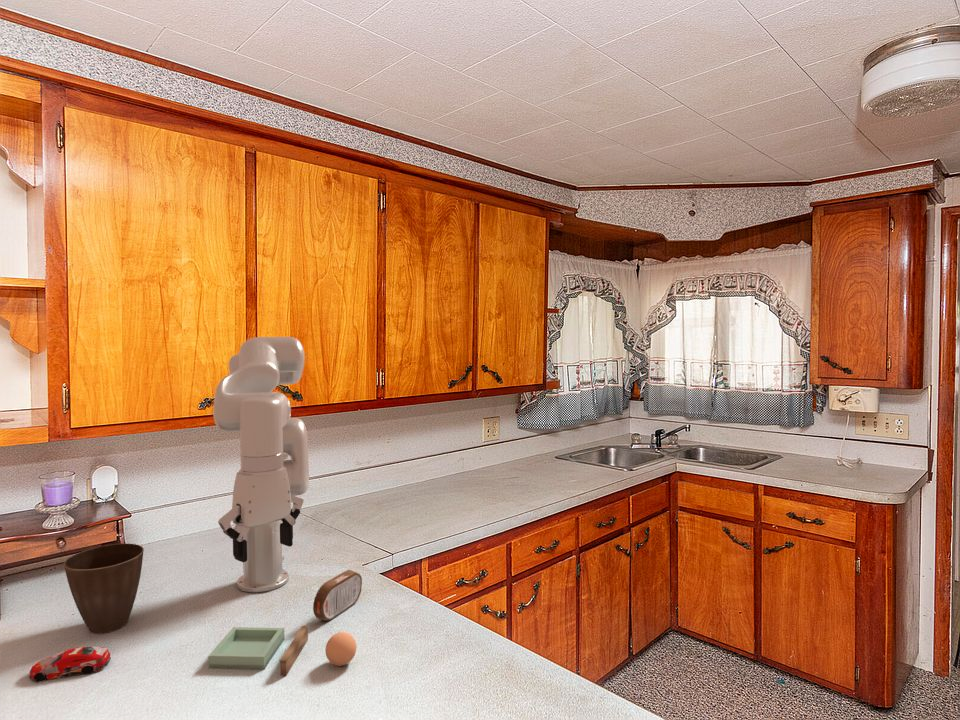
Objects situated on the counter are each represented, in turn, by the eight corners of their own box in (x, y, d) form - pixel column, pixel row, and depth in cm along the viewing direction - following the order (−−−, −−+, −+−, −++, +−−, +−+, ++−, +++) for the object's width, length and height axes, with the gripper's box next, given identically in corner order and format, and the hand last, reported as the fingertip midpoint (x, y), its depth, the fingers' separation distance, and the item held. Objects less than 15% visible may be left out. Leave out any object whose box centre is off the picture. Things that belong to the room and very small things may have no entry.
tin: (354, 597, 147) (353, 563, 147) (364, 599, 146) (364, 566, 145) (312, 625, 134) (311, 588, 133) (323, 628, 132) (322, 591, 132)
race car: (24, 686, 112) (23, 665, 112) (37, 669, 117) (35, 650, 117) (104, 673, 115) (103, 654, 115) (113, 658, 121) (112, 639, 120)
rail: (302, 639, 127) (302, 626, 127) (308, 639, 127) (307, 626, 127) (280, 675, 114) (279, 660, 114) (286, 675, 114) (286, 660, 114)
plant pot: (65, 650, 123) (61, 575, 122) (69, 620, 136) (65, 551, 135) (148, 631, 131) (145, 559, 130) (144, 603, 144) (141, 538, 143)
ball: (330, 654, 122) (330, 626, 121) (359, 655, 121) (359, 626, 121) (321, 671, 116) (321, 641, 115) (352, 672, 115) (352, 642, 115)
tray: (233, 638, 128) (233, 627, 128) (284, 639, 127) (284, 627, 127) (208, 668, 117) (208, 655, 117) (264, 669, 117) (263, 656, 116)
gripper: (289, 452, 121) (291, 535, 122) (207, 468, 108) (209, 562, 108) (312, 457, 117) (314, 543, 118) (230, 474, 103) (232, 572, 104)
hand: (264, 552), depth 113 cm, fingers open, 9 cm apart
